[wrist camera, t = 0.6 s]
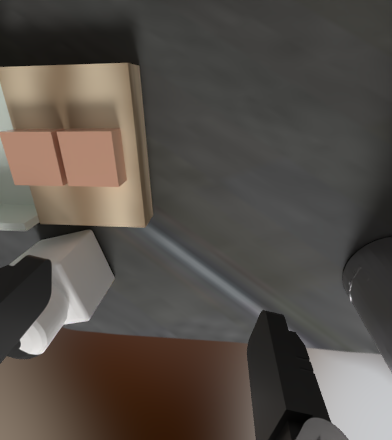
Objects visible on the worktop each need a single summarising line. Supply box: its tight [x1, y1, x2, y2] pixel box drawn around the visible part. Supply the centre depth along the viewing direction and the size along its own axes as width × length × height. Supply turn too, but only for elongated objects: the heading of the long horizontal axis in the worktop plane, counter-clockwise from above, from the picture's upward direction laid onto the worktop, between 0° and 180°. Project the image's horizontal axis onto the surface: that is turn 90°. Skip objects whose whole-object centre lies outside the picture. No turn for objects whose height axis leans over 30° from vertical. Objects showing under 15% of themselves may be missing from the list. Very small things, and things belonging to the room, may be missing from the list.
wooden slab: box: [0, 63, 153, 228], centre depth 26 cm, size 11×14×3 cm
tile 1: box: [57, 128, 127, 187], centre depth 24 cm, size 4×4×2 cm
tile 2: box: [0, 129, 68, 186], centre depth 24 cm, size 4×4×2 cm
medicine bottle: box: [7, 229, 115, 359], centre depth 28 cm, size 7×7×12 cm
